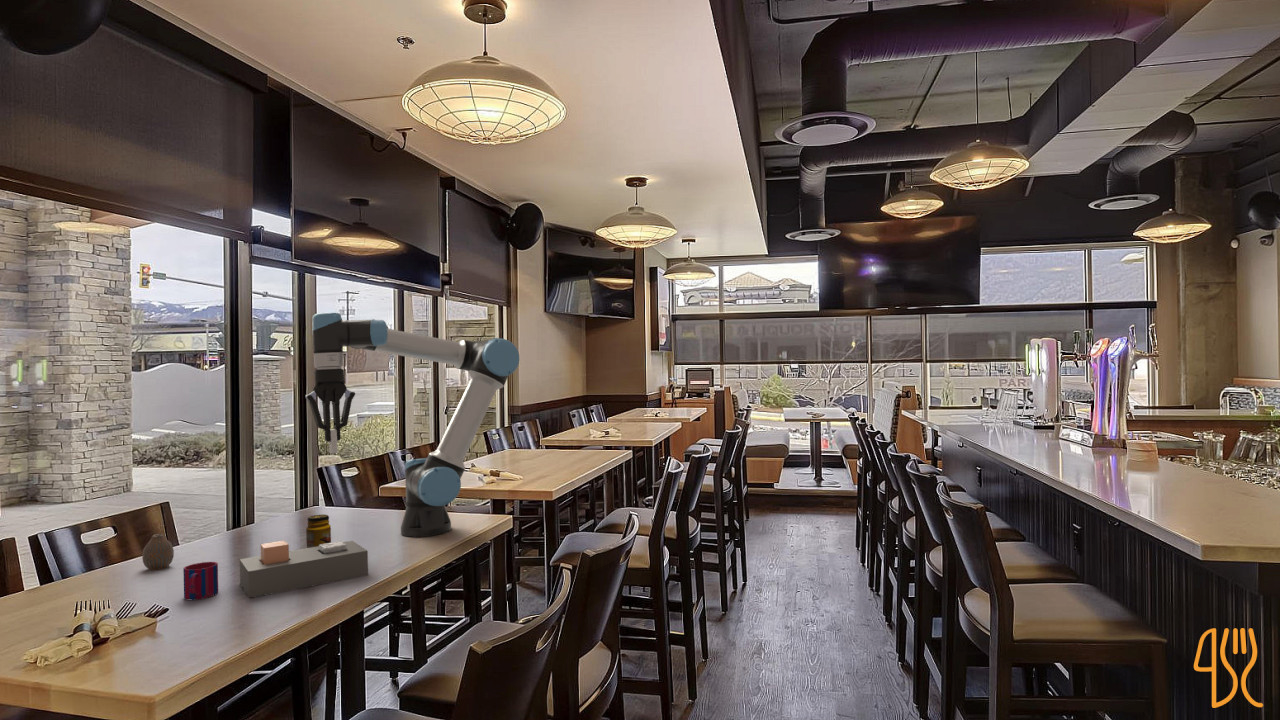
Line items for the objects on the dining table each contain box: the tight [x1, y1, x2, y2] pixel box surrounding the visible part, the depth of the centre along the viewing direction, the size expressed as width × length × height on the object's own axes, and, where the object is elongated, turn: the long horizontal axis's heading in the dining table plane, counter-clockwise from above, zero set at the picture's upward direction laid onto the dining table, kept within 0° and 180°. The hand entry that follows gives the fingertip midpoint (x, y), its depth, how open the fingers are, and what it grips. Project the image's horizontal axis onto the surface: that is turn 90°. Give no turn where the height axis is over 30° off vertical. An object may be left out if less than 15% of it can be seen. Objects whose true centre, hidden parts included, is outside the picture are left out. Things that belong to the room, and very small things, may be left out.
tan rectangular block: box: [259, 540, 290, 565], centre depth 167 cm, size 5×5×6 cm
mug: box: [182, 561, 219, 601], centre depth 159 cm, size 7×10×7 cm
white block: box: [319, 540, 346, 554], centre depth 174 cm, size 5×5×6 cm
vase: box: [141, 533, 175, 571], centre depth 186 cm, size 7×7×9 cm
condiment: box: [305, 514, 332, 548], centre depth 188 cm, size 7×8×12 cm
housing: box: [239, 540, 369, 599], centre depth 170 cm, size 26×14×6 cm, turn 127°
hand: (333, 453), depth 194 cm, fingers closed
